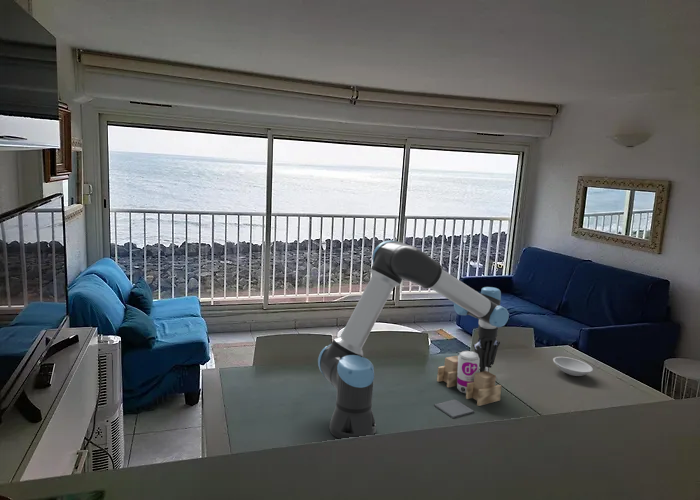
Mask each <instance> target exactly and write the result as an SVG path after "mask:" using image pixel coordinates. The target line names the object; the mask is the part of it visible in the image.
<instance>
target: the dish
mask: <svg viewBox="0 0 700 500" xmlns="http://www.w3.org/2000/svg"><path fill="white" fill-rule="evenodd" d="M552 361H553V363H554V364H555V366H557V368H558V369H559V370H560V371H561V372H563V373H566V374H567V375H569V376H574V377H575V376H576V377H581V376H585V375H588V374H589V373H592V372H594V371H593V370H594V369H593V367H592V366H591V365H590V364H588V363H587V362H585V361H582V360H579V359H576V358H572V357H567V356H555V357H553V358H552Z"/></svg>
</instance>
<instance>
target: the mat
mask: <svg viewBox="0 0 700 500" xmlns="http://www.w3.org/2000/svg"><path fill="white" fill-rule="evenodd" d="M433 406H434V407H435V408H437V409H439V410H440V411H441V412H442V413H444V414H446V416H449V417H451V419H454V418H460V417H463V416H466V415H469V414H474V413H475V411H474V410H473V409H471V408H470V407H468V406H467V405H465V404H463V402H460V401H459V400H457V399H451V400H446V401H443V402H440V403H439V402H438V403H434V404H433Z"/></svg>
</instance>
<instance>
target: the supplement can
mask: <svg viewBox="0 0 700 500" xmlns="http://www.w3.org/2000/svg"><path fill="white" fill-rule="evenodd" d="M457 356H458V371H457V386H456V389H457V390H458V391H459V392H461V393H462V394H466V390H467V383H471V382H474V376H475V373H479V372H480V367H479V363H480V358H479V356H478V354H477V353H476V352H475V351H472V350H463V351H461V352H459V354H458V355H457Z"/></svg>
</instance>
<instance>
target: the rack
mask: <svg viewBox="0 0 700 500" xmlns="http://www.w3.org/2000/svg"><path fill="white" fill-rule="evenodd" d="M458 356H459V355H452V356H448V357H447V356H446V357H445V358H444V365H442V366H441V365H440V366H438V367H437V373H436V374H437V376H436V377H437V378H436V382H438V383H439V382H445V383H446V387H447V388H453V387H457V371H458ZM496 378H497V376H496V375H495V374H494V373H491V372H490V371H489V372H488V371H483V372H480V371H479V373H475V376H474V382H471V383H467V390H466V393H465V399H466V400H469V399H473V400H475V401H476V402H477V403H476V406H477V407H478V406H481V407H482V406H484V405H488V404H491V403H494V402H495V403H496V402H498V401H501V396H502V395H501V392H502V385H501V384H496V380H497V379H496Z"/></svg>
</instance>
